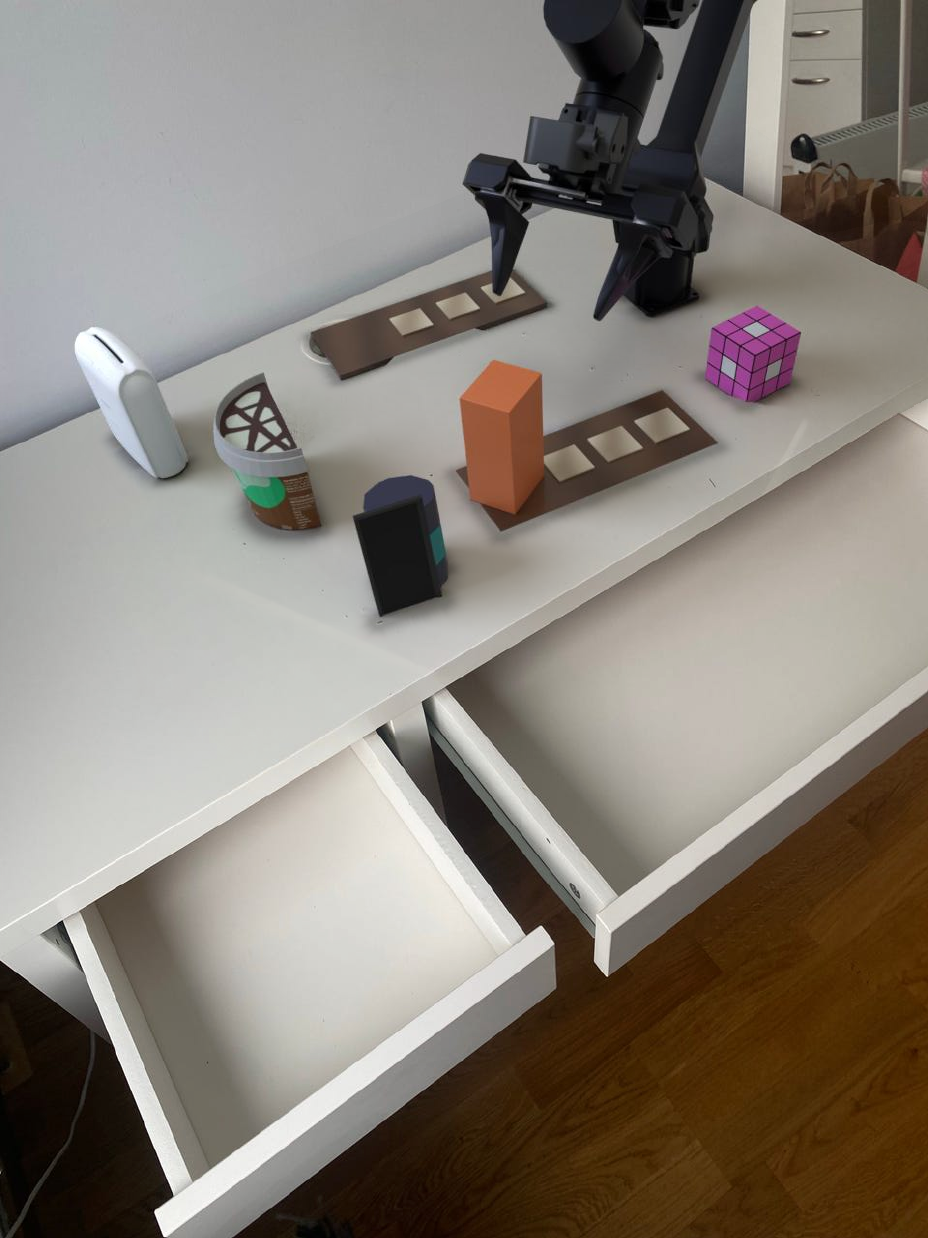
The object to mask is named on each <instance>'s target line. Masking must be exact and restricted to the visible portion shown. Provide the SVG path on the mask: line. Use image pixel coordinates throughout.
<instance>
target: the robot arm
mask: <svg viewBox="0 0 928 1238" xmlns="http://www.w3.org/2000/svg"><path fill="white" fill-rule="evenodd" d="M700 1H701V0H544V1H543V6H542V7H543V8H542V9H543V19H544V23H545V26H546V28H547V30H548V32H549V34H550V35H551V37H552V38H553V40H554V41H555V43H556V45H557V47H558V48H559V50H560V51H561V53H562V54H563V56H564V58H565V59H566V60H567V63H568V65H569V66H570V68H571V69H572V71H573V72H574V74H576V75H577V76H578V77H579V78H580V80H579V82H578V86H577V88H576V92H575V95H574V98H573V102H572V103H569V102H565V104H564V107H562V109H561V112H560V114H559V118H558V119H553V118H547V117H540V116H533V115H530V116H529V121H528V123H529V124H528V128H527V135H526V141H525V147H524V154H523V160H522V163H524V164H527V165H532V166H537V165H538V166H537V168H538V169H539V171H540V172H541V173H542V174H546V175H548V176H549V178H548V179H543V178H537V177H532V176H531V175H530V174H529V172H527V170H526V169H525V168H524V167H523V166H522V165H521V163H520V162H519V161H518V160H517V159H515V158H509V157H503V156H499V155H494V154H488V153H482V152H479V153H478V154H477V155H476V156H475V157H474V158H472V159H471V160H470V162H469V163H468V164H467V168H466V171H465V174H464V177H463V181H462V185H463V186H464V187H465V188H466V189H467V190H468V191H469V192H470V193H471V194H472V195H473V196H474V201H475V202H476V203H478V204H479V205H480V206H481V208H482V209H484V210H485V212H486V215H487V218H488V223H489V230H490V238H491V241H490V242H491V271H492V290H493V293H494V294H495V295H497V296H501V295H502V293H503V291H504V289H505V287H506V285H507V283H508V281H509V278H510V276H511V273H512V270H514V267H515V264H516V262H517V258H518V256H519V253H520V250H521V247H522V244H523V242H524V239H525V236H526V233H527V230H528V228H529V225H530V221H529V220H528V219H527V218H526V217H525V216H524V215H523V214H525V213H526V212H528V211H530V210H531V209H532V207H533V204H534V205H538V206H542V207H548V208H551V209H558V210H563V211H567V212H573V213H577V214H582V215H587V216H591V217H597V218H601V219H606V220H611V222H612V228H613V234H614V241H615V243H616V244H617V248H616V250H615V253H614V256H613V257H612V261H611V263H610V266H609V269H608V271H607V273H606V276H605V278H604V282H603V284H602V285H601V289H600V291H599V294H598V297H597V298H596V299H597V300H596V303H595V307H594V311H593V315H592V317H593V320H595V321H596V322H601V321H603V319H604V318H605V317H606V316H607V315H608V313H609V312H610V311H611V310H612V309H613V308H614V307H615V305H616V304H617V303H618V301H619V300H620V299H621V298H622V297H624V298H625V299H627V300H628V302H630V303H631V304H632V305H634V306H635V307H636V308H637V309H638V310H639V311H640V312H641V313H643V314H644V315H645V316H646V317H650V318H651V317H655V316H657V315H660V314H662V313H665V312H668V311H671V310H673V309H677V308H679V307H682V306H684V305H687V304H689V303H692V302H695V301H697V300H699V299H700V292H698V291H697V290H696V289H695V288H694V287H693V286H692V283H693V273H694V265H695V264H694V263H695V257H696V256H697V255H698V254H701V253H705V252H707V251H708V250H709V249H710V248H709V247H710V241H711V234H712V232H713V222H714V218H715V216H714V213H713V211H712V210H711V208H710V206H709V204H708V202H707V200H706V198H705V197H706V194H707V189H708V188H707V183H706V178H705V173H704V168H703V163H702V155H703V151H704V149H705V147H706V146H705V145H706V143H707V140H708V138H709V135H710V131H711V128H712V126H713V123H714V120H715V117H716V114H717V111H718V108H719V105H720V103H721V100H722V96H723V94H724V90H725V88H726V85H727V82H728V79H729V77H730V73H731V70H732V67H733V64H734V61H735V58H736V56H737V52H738V50H739V48H740V45H741V41H742V39H743V35H744V33H745V29H746V27H747V24H748V22H749V18H750V15H751V12H752V9H753V7H754V4H755V3H756V2H757V1H758V0H702V1H701V2H700ZM698 7H699V9H698V12H697V15H696V18H695V21H694V24H693V28H692V31H691V32H690V36H689V38H688V42H687V45H686V48H685V51H684V53H683V56H682V60H681V62H680V65H679V69H678V71H677V75H676V78H675V80H674V84H673V87H672V89H671V92H670V96H669V99H668V102H667V104H666V107H665V110H664V113H663V117H662V118H661V119H662V120H661V122H660V126H659V127H658V128H659V129H658V131H657V134H656V136H655V137H654V138H653V139H652V140H650V142H649V143H648V144H642V143H641V141H640V139H639V138H638V137H639V135H640V132H641V128H642V125H643V122H644V119H645V117H646V113H647V111H648V108H649V104H650V100H651V99H652V94H653V91H654V89H655V86H656V82H657V81H661V80H663V77H664V74H665V73H664V72H665V71H664V69H665V65H664V56H663V53H662V51H661V48H660V42H659V41H657V40H656V38H655V37H654V35H652V34H651V32H649V31H648V30H647V29H644V27H651V28H659V29H660V28H661V29H667V30H668V29H669V30H679V29H680V28H682V27H683V26H684V25H685V24H686V23H687V21H688V19H689V18H690V16H691V15H693V13H695V11H696V10H697V8H698Z"/></svg>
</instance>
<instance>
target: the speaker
mask: <svg viewBox="0 0 928 1238" xmlns="http://www.w3.org/2000/svg"><path fill="white" fill-rule="evenodd" d="M362 509H363V512H361V513H357V514H354V515H352V520H353V523H354V527H355V531H356V535H357V538H358V542H359V546H360V550H361V554H362V557H363V560H364V561H363V562H364V564H365V569H366V572H367V576H368V578H369V580H368V581H369V583H370V587H371V591H372V595H373V598H374V603H375V606H376V610H377V614H378V616H379V618H381V617H383V616H385V615H387V614H391V613H393V612H397V611H400V610H404V609H406V608H408V607H413V606H415V605H418V604H421V603H425V602H427V601H430V600H433V599H437V598H443V594H442V589H441V585H442V584H443V583H444V582H445V581H446V580H447V579H448V578H449V565H448V564H449V563H448V557H447V552H446V547H445V546H446V545H445V540H444V534H443V529H442V524H441V518H440V513H439V508H438V501H437V496H436V491H435V484H433V483H432V482H431V480H429V479H427V478H426V479H425V478H423V477H419V476H415V475H413V474H409V475H401V476H395V477H387V478H386V479H383V480H381V481H378V482H377V483H376V484H375V485H374V486H373V487H372V488H370V489H369V490H367V492H366V493H364V497H363V506H362Z"/></svg>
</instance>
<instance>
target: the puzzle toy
mask: <svg viewBox="0 0 928 1238" xmlns="http://www.w3.org/2000/svg"><path fill="white" fill-rule="evenodd" d="M801 336H802V332H801V331H800V330H799V329H797V328H796V327H793V326H792V325H791V324H789V323H787V322H786V321H784V320H782V319H781V318H779V317H777V316H776V315H774V314H772V313H770V312H769V311H767V310H766V309H764V308H762V307H761V306H759V305H755V306H753V307H751V308H749V309H747V310H745V311H743V312H741V313H739V314H737V315H735V316H732V317H730V318H728V319H727V320H724V321H723V322H720V323H718V324H717V325H714V326H712V327H711V331H710V338H709V345H708V354H707V360H706V368H705V375H704V378H705V380H707V381H709V382H710V383H712V384H713V385H715V386H716V387H718V388H719V389H720V390H722V391H723V392H724V393H726V394H727V395H729V396H730V397H732V398H737V399H740V400H742V401H744V402H745V403H748V402H752V403H756V402H757V401H759V400H761V399H763V398H765V397H766V396H768V395H770V394H772V393H774V392H776V391H778V390H780V389H782V388H783V387H785V386H787V385H790V383H791V381H792V377H793V371H794V367H795V363H796V359H797V354H798V349H799V345H800V339H801Z"/></svg>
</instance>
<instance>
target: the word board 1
mask: <svg viewBox="0 0 928 1238" xmlns="http://www.w3.org/2000/svg"><path fill="white" fill-rule="evenodd" d="M547 307H548V301H546V300H545V298H543V297H542V296H541V295H540V294H539V293H538V292H537V291H536V290H535V289H534V288H533V287H532V286H531V285H530V284H529V283H528V282H527V281H526V280H525V279H524V278H523V277H522V276H521V275H520V274H518V273H517V271H516V270H515V269H513V270H512V273H511V276H510V278H509V281H508V283H507V285H506V287H505V289H504V291H503V293H502V295H501V296H497V295H495V294H494V293H493V290H492V270H489V271H486V272H483V273H480V274H477V275H474V276H472V277H468V278H465V279H463V280H460V281H457V282H453V283H452V284H448V285H445V286H442V287H440V288H437V289H436V288H435V289H433V290H430V291H427V292H425V293H422V294H418V295H416V296H413V297H410V298H407V299H404V300H401V301H397V302H395V303H392V304H390V305H386V306H383V307H380V308H378V309H374V310H371V311H369V312H366V313H362V314H360V315H357V316H354V317H351V318H348V319H345V320H342V321H340V322H336V323H333V324H330V325H328V326H325V327H322V328H319V329H316V330H313V331H310V337H311V338H312V340H313V342H314V343H315V345H316V346H317V347H318V349H319V350H320V352H321V353H322V354H323V356H324V358H325V359H326V360H327V362H328V364H329V365H330V366H331V368H332V369H333V371H334V372H335V373H336V375H337V377H338V378H339V379H340V381H342V380H345V379H348V378H351V377H353V376H356V375H359V374H362V373H365V372H368V371H371V370H374V369H377V368H379V367H383V366H385V365H387V364H389V363H390V362H391V361H392V360H393V359H394V358H395V357H397V356H400V355H403V354H406V353H408V352H411V351H414V350H417V349H420V348H423V347H426V346H429V345H431V344H434V343H437V342H440V341H443V340H445V339H449V338H451V337H454V336H457V335H459V334H462V333H465V332H468V331H471V330H473V329H474V330H475V329H476V330H478V331H484V330H486V329H489V328H492V327H494V326H498V325H500V324H503V323H505V322H509V321H511V320H514V319H518V318H520V317H522V316H526V315H528V314H531V313H534V312H537V311H540V310H542V309H545V308H547Z"/></svg>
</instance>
